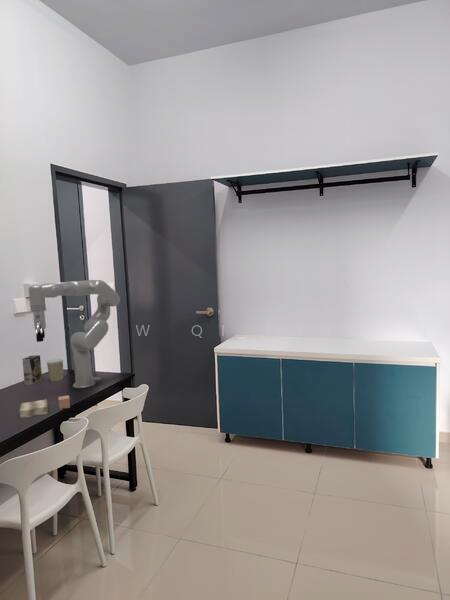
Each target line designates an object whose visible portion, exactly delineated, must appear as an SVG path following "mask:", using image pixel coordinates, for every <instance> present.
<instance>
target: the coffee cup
mask: <svg viewBox="0 0 450 600" xmlns="http://www.w3.org/2000/svg"><path fill="white" fill-rule="evenodd" d="M46 365H47V372H48V376H49V381H50V382H59V381H62V380H63V379H64V360H63V359H62V358H53V359H49V360H47V361H46Z"/></svg>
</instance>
